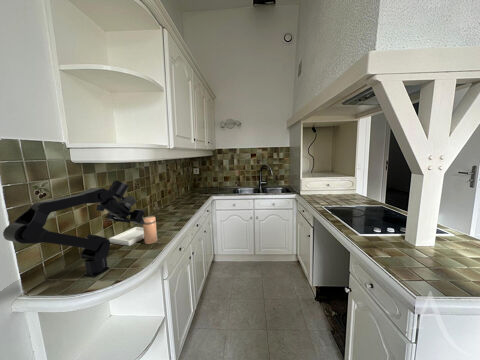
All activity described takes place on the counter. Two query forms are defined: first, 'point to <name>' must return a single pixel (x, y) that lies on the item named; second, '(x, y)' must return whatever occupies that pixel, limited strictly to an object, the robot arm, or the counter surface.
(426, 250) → the counter surface
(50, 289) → the counter surface
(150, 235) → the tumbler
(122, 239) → the tray
